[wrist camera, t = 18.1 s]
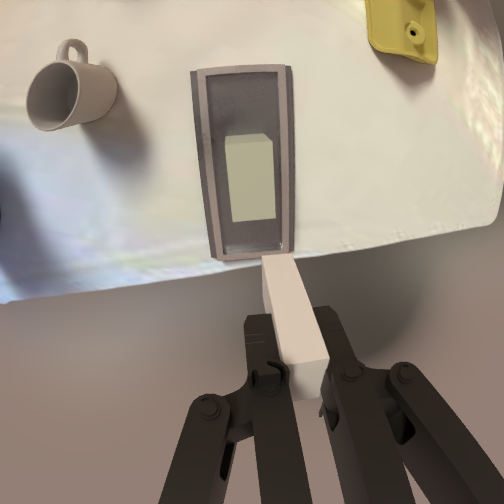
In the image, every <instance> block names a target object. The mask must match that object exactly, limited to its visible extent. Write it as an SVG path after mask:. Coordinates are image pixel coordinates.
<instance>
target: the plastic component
mask: <svg viewBox="0 0 504 504" xmlns="http://www.w3.org/2000/svg"><path fill="white" fill-rule="evenodd" d="M365 5H366V16H367V29H368V39H369V42H370V44H371V45H372V46H373V47H374V48H375V49H377V50H378V51H381V52H384V53H391V54H398V55H402V56H405V57H407V58H410V59H412V60H414V61H417V62H419V63H425V64H431V65H435V64H436V63H437V61H438V39H437V25H436V15H435V7H434V0H365ZM411 30H412V31H414V32H415V34H416V35H415V36H412V35H411V34H410V31H411Z"/></svg>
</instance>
